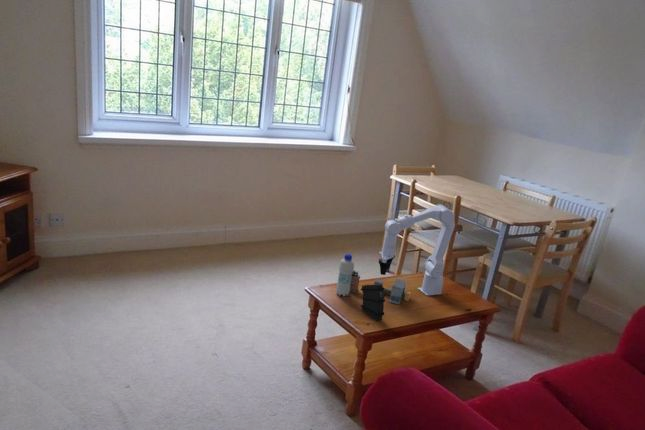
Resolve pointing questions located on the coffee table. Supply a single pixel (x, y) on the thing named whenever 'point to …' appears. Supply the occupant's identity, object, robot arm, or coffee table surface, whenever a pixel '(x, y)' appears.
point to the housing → (397, 291)
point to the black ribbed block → (373, 301)
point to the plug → (388, 292)
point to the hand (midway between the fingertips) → (384, 271)
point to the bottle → (345, 275)
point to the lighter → (354, 281)
